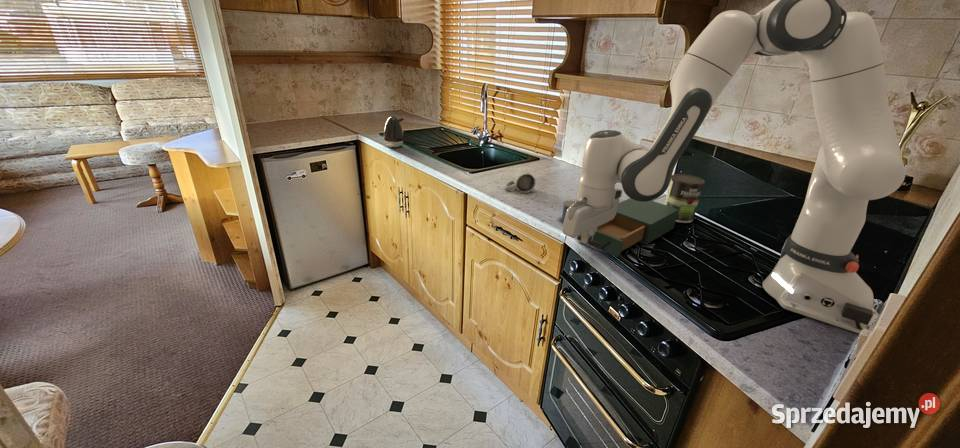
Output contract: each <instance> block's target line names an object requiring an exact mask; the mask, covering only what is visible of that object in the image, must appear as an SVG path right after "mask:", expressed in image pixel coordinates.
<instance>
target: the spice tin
mask: <svg viewBox="0 0 960 448" xmlns="http://www.w3.org/2000/svg"><path fill="white" fill-rule="evenodd" d="M575 201H576V200H571V199H570V200H565V201H563V207H562V215H561V222H562V223H564V219H565V215H566V212H567V210H568V208H569V207H570V206H572V204H573V202H575Z"/></svg>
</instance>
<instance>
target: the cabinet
mask: <svg viewBox="0 0 960 448" xmlns="http://www.w3.org/2000/svg"><path fill="white" fill-rule="evenodd" d="M664 204H665V203H660V202H657V201H655V200H651V201H645V202H642V201H636V200H633V199H631V198H630V197H628V198H627V199H625V200H622V201H619V205H618V209H617V213H616V215H619V216H621V217H624V218H627V219H629V220H632V221H635V222H638V223H640V224H643V225H646V226H647V230H646V234H645V238H644V239H642V240H640V241H639V242H638V243H639V244H642V245H645V246H647V245H648V244H650V243H652V242H654V241H655V240H656V239H658V238H661V237H662V236H663V235H665V234H666V233H669V232H670V231H672V230H673V229H675V226H676V225H675V224H676V222H675V221H676V217H677V214H678V210H679V209H676V208H673V207H670V206H667V205H664Z"/></svg>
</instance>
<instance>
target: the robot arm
mask: <svg viewBox="0 0 960 448" xmlns="http://www.w3.org/2000/svg"><path fill="white" fill-rule="evenodd" d="M879 34H880V33H879V32H878V28H877V25H876V24H875V21H874V19H873V17H872V16H871V14H869V13H867V12H863V11H847V12H846V10H845V9H844V8H843V7H841V6H840V5H839V3H838V2H837V0H773V1H772V2H771V3H769V4H768V5H767V6H766V7H763V8H761V9H759V10H758V11H757V12H755V13H753V14H749V13H748V12H745V11H743V10H739V9H738V10H737V9H731V10H725V11H722V12H720V13H719V14H717V15H716V16H715V17H714V18H713V19H712V20H711V21H710V22H709V24H708V25H707V26H706V27H705V28H704V29H703V30H702V31H701V33H700V34H699V35H698V36H697V37H696V38H695V40H694V41H693V43H692V44H691V46H689V48H688V50H687V51H686V52H685V53H684V55H683V57H682V59H680V62H679V63H678V64H677V67H676V68H675V70H674V72H673V74H672V77H671V79H670V82H669V91H670V95H671V97H670V98H671V108H670V113H669V116H668V118H667V120H666V122H665V124H663V127H662V128H661V130H660V131H659V132H658V135H657V136H656V138H655V139H654V141H653V143H652V144H651V146H650V147H649V148H648V147H646V146H643V145H641V144H638V143H636V142H634V141H631V140H630V139H628V137H626V136H624V135H623V133H622V132H621V131H618V130H614V129H613V130H612V129H606V130H605V129H604V130H599V131H596V132H594V133H593V134H591V135H590V136H589V138H588V139H587V141H586V144H585V147H584V151H583V156H582V162H581V168H582V173H581V175H580V178H579V180H578V186H577V194H576V200H574V201H575V202H573V204H572V206H570V207H569V208H568V210H567V212H566V215H565V219H564V222H562V223H563V224H562V228H561V231H562V233H563V235H565V236H567V237H570V238H573V239H574V238H577V236H579V235H581V236H582V237H581V241H580V242H581V243H582V244H584V245H587V243H588V242H590V241H592V240H593V235H594V234H595V232H596V230H597V227H598V226H600V225H602V224H604V223H606V222H608V221H611V220H613V219H614V217H615V215H616V213H617V209H618V205H619V203H620V198H621V197H622V195H623V192H624V194H625V196H627V197H628V198H631V199H633V200H636V201H642V202H645V201H655V200H656V199H658V198H660V197H661V196H662V195H663V194H665V193H666V191H668V189H669V185H670V182H671V177H672V175H673V172H674V169H675V167H676V165H677V163H678V161H679V160H680V158H681V157H682V155H683V154H684V152H685V151H686V149H687V147H688V146H689V144H690V142H692V140H693V138H694V137H695V135H696V133H697V132H698V130H699V129H700V127H701V126H702V124H703V123H704V121H705V119H706V117H707V115H708V114H709V112H710V110H711V109H712V107H713V105H714V104H715V102H717V99H718V98H719V97H720V95H721V94H722V93H723V91H724V90H725V88H726V87H727V85H728V84H729V83H730V81H732V79H733V77H734V76H735V75H736V73H737V72H738V70H739V69H740V67H741V66H742V65H743V63H745V61H747V60H748V59H749V58H750V57H751V56H752V55H757V56H762V57H763V56H764V57H777V56H778V57H779V56H786V55H787V56H788V55H792V54H794V53H796V52H797V53H800V55H802V56H803V58H804V59H805V61H806V63H807V66H808V72H809V73H808V74H809V83H810V89H811V96H812V104H813V111H814V119H815V122H816V126H817V130H818V133H819V138H820V141H821V146H820V148H819V150H818V153H817V157H816V160H815V162H814V163H815V164H814V167H813V169H812V173H811V177H810V179H809V182H808V187H807V191H806V194H805V199H804V203H803V204H802V205H803V206H802V208H801V211H800V214H799V216H798V219H797V220H796V223H795V225H794V228H793V230H792V233H791V234H789V236H787V238H786V239H785V242H784V244H783V246H782V248H781V251H780V257H779V259H778V261H777V263H776V264H775V266H774V268H773V269H772V270H771V272H770V273H769V275H767V276H766V278H765V279H764V280H763V281H762V288H763V289H764V291H765V292H766V293H767V294H768V295H769V296H770V297H772V298H773V299H774V300H775V301H776V302H777V303H778V304H779V306H780V307H782V309H784V310H786V311H790V312H792V313H796V314H799V315H802V316H805V317H808V318H811V319H814V320H817V321H820V322H823V323H826V324H829V325H832V326H835V327H838V328H841V329H844V330H847V331H850V332H853V333H856V334H859V335H861V334H860V332H861V331H862V330H863V329H864V328H870V326H871V325H872V323H873V322H874V321H875V319H876V318H877V317H878V315H879V316H880V314H879V312H878V311H877V310H876V309H875V308H874V301H875V297H874V292H873V290H872V288H871V287H870V286H869V285H868V284H867V283H866V282H865V281H864V280H863V278H862V277H860V275H859V274H858V273H857V272H858V271H859V268H860V264H859V263H860V259H859V254H856V255H855V254H854V253H853V252H852V250H853V247H854V245H855V243H856V241H857V239H858V238H859V235H860V234H861V231H862V229H863V228H864V225H865V223H866V219H867V211H868V204H869V201H874V200H879V199H883V198H885V197H888V196H889V195H891V194H893V193H894V192H896V191H897V190H898V189H899V188H900V187H901V186H902V185H903V183H904V181H905V178H906V168H905V167H906V166H905V163H904V160H903V157H902V153H901V147H900V142H899V138H898V134H897V130H896V126H895V123H894V119H893V115H892V112H891V109H890V105H889V97H888V87H887V78H886V69H885V59H884V58H885V57H884V52H883V46H882V42H881V38H880V35H879ZM616 184H621V187H622V189H621V188H618V187H616Z"/></svg>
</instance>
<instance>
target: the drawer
mask: <svg viewBox="0 0 960 448" xmlns="http://www.w3.org/2000/svg"><path fill="white" fill-rule="evenodd" d="M646 230H647V226H646V225H643V224H640V223H638V222H635V221H632V220H629V219H627V218H624V217H621V216H619V215H615V217H614V219H613V220H611V221H608V222H606V223H604V224H602V225H600V226H598V227H597V230H596V232H595V234H594V235H593V240H592V241H590V242H588V243H586V245H588V246H591V247H594V248H596V249H598V250H601V251H602V252H605V253H607V254H610V255H611V256H614V257H617V258H619V257H620V256H621V253H622V252H623V251H625V250H626V249H628V248H631V247H632V246H634V245H635V244H637V243H640V242H639V241H640V240H642V239H644V238H645V234H646ZM581 237H582V236H581V235H579V236H577V237H576V240H578V241H580V242H581Z"/></svg>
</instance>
